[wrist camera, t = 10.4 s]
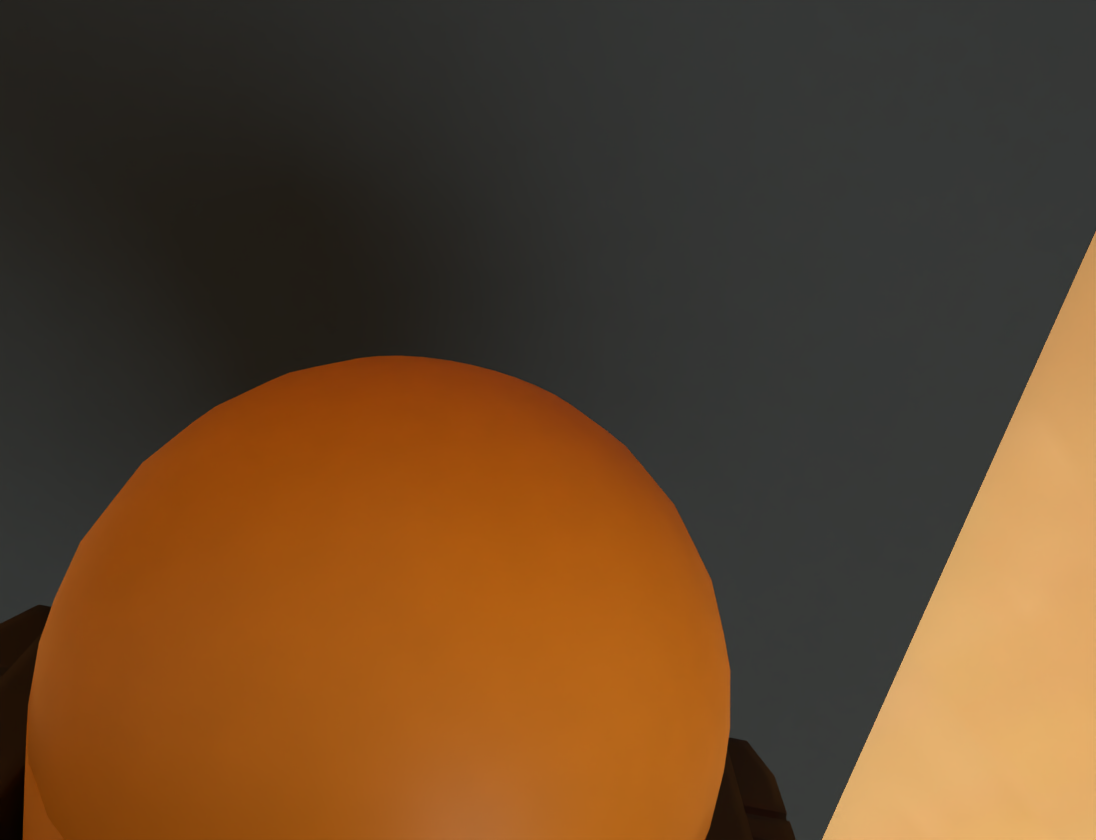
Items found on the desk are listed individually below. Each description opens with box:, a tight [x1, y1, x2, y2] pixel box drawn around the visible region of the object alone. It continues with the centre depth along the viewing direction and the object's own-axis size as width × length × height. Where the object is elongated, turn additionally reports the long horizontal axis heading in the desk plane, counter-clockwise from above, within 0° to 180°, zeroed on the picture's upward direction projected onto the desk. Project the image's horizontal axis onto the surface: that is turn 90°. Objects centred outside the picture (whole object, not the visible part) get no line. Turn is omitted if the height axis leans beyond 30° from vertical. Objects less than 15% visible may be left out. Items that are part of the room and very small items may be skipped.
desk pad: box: [0, 0, 1096, 840], centre depth 17 cm, size 20×22×1 cm
